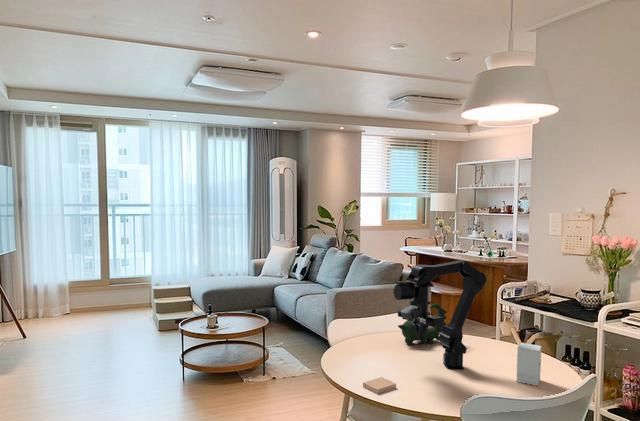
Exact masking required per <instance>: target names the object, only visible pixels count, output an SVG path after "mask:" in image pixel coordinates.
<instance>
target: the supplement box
mask: <svg viewBox="0 0 640 421" xmlns="http://www.w3.org/2000/svg"><path fill="white" fill-rule="evenodd" d="M516 352H517V355H516V356H517V358H516V382H517V383H520V384H525V383H527V384H526V385H530V384H532V385H531V386H535V385H538V386H539V384H540V381H541V372H542V370H541V368H542V367H541V366H542V346H541V345H538V344H533V343H532V344H530V343H524V342H520V343H519V345H518V346H517V351H516Z"/></svg>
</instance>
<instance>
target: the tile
mask: <svg viewBox="0 0 640 421" xmlns="http://www.w3.org/2000/svg"><path fill="white" fill-rule="evenodd" d="M362 387H363V388H364V389H367V390H368V391H370V392H372V393H375V394H376V393H377V394H376V395H378V393H379V394H381V392H382V393H384V391H385V392H388V391H390V390H393V389H396V388H397V382H393V381H392V380H389V379H387V378H385V377H384V376H383V377H382V376H380V377H377V378H373V379H370V380H367V381H364V382H362Z"/></svg>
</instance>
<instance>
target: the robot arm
mask: <svg viewBox="0 0 640 421" xmlns="http://www.w3.org/2000/svg"><path fill="white" fill-rule="evenodd" d="M454 273H459V275H460V276H461V277H462V278H463V279H462V286H463V287H462V289H463V290H462V292H461V295H460V298H459V300H458V302H457V305H456V307H455V310H454V312H453V314H452V317H451V319H450V322H449V323H448V324H446V326H445V325H444V323H445V319H443V318H442V317H439V316H437V314H435V315H431V312H430V311H429V305H432V304H431V301H429V291H430V290H429V289H430V288H434V287H435V285H434V284H433V283H432V282H431V281H432V280H434V279H435V278H437V277H438V276H439V277H440V276H444V275H448V274H454ZM486 283H487V277H486V274H485V273H484V272H481V271H479V269H477V268H475V267H474V266H473V265H471V264H470V263H469V262H468V261H465V260H461V259H458V260H455V261H449V262H443V263H439V264H434V265H432V264H430V265H429V264H415V265H413V267H412V268H411V271H410V272H409V274H408V276H407V277H406V279H405V280H404V281H400V280H399V281H396V284H395V285H394V289H393V296H394V298H395V300H396V301H402V300H410V302H409V305H408V306H406V307H403V308H399V310H398V311H397V317H399V318H401V319H402V320H405V321H407V320H408V321H409V322H411V323H412V324H413V326H414V328H415V332H416V335H417V338H418V339H419V340H421V339H422V337H423V335H424V333H425V331H426V329H427V328H429V327H431V328H432V327H436V326H441V325H443V326H442V329H441V331H440V333H439V342H440V344H441V346H442V348H443V349H444V352H443V357H442V359H443V360H442V363H443V365H444V366H445V367H446V369H447V370H464V369H465V367H464V365H463V364H464V354H466V353H467V350H468V348H467V346H466V345H465V344H464V343H463V337H464V335H463V327H464V325H465V321H466V320H467V317H468V314H469V312H470V310H471V308H472V305H473V302H474V300H475V297H476V295H477V294H479V293H481V291H482V290H483V288H484V286H486ZM430 315H431V316H430Z"/></svg>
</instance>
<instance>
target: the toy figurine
mask: <svg viewBox="0 0 640 421" xmlns="http://www.w3.org/2000/svg"><path fill="white" fill-rule="evenodd" d="M433 308H435V309H436V310H437V314H436V316H439V317H442V318H443V319H444V320H447V319H448V318H447V316H446V314H448V311H447V310H446V309H445V308H443V307H442V306H441V304H439V303H437V302H436V303H433V304H430V307H429V309H430V310H431V309H433ZM444 325H445V326H447V323H446V322H444ZM442 326H443V325H441V326H436V327H432V326H431V327H428V328H427V329H426V331H425V333H424V335H423V337H422V339H421V340H419V339H418V338H417V335H416V332H415V328H414V326H413V324H412V323H411V322H409V321H408V320H405V321H404V322H403V324H399V325H397V327H398V328H399V329H400V330H401V334H402V336H403V337H404V342H405V344H406V345H409V346H410V345H412V344H414V342H415V341H418V342H419V341H420V343H421V344H423V345H425V344H427V342H428V343H429V344H431V345H432V344H434V343H435V341H434V340H436V341H439V342H440V340H439V333H440V331H441V329H442Z"/></svg>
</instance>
